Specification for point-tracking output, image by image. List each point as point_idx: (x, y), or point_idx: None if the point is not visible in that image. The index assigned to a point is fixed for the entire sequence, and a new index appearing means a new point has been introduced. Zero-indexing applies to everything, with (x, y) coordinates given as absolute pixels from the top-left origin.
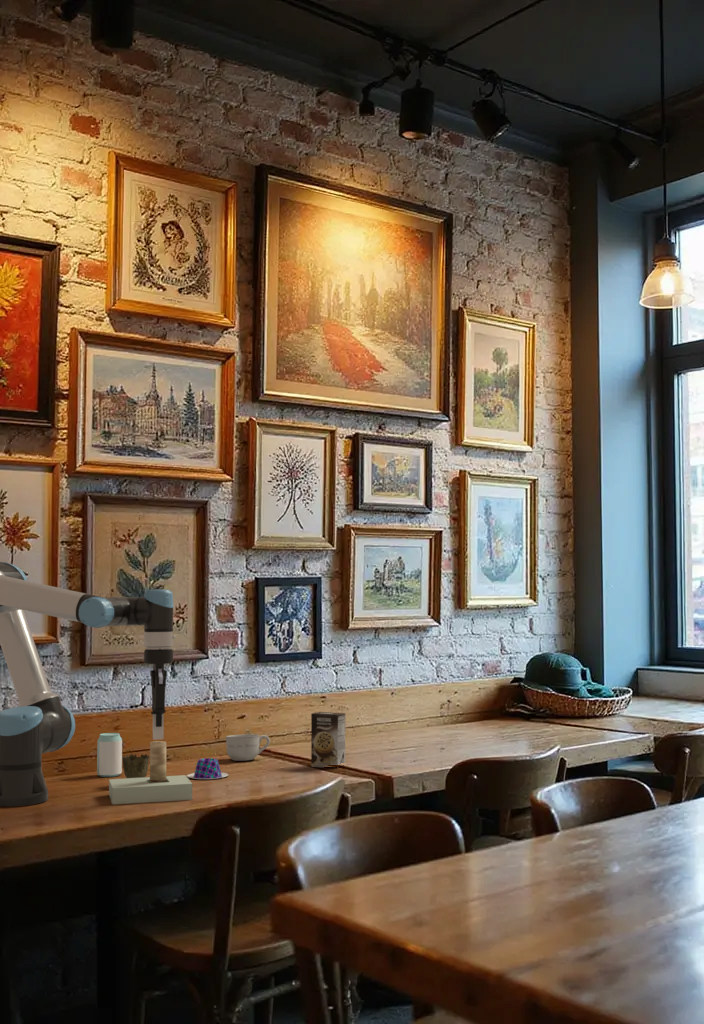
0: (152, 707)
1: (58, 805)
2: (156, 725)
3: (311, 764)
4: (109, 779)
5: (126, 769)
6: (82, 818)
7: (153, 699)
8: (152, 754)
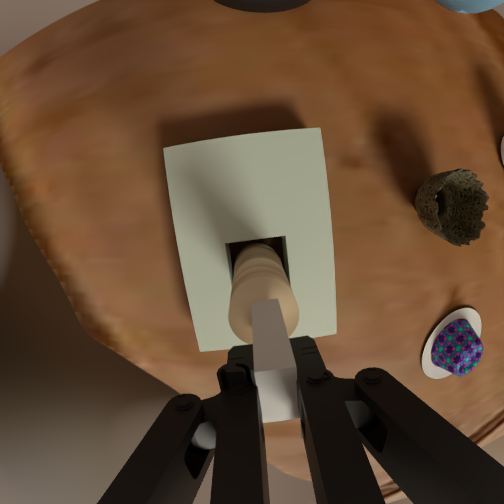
0: (366, 381)
1: (194, 39)
2: (230, 351)
3: None
4: (318, 128)
5: (430, 179)
6: (53, 121)
7: (316, 448)
8: (237, 278)
